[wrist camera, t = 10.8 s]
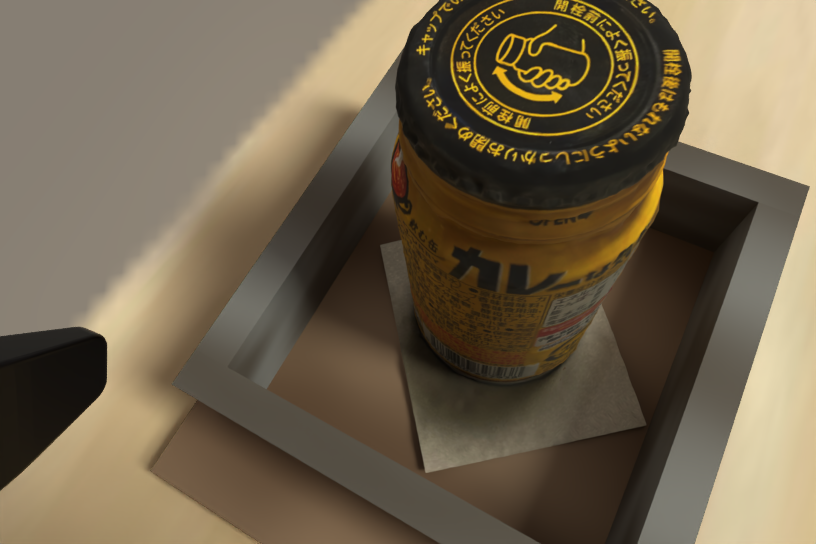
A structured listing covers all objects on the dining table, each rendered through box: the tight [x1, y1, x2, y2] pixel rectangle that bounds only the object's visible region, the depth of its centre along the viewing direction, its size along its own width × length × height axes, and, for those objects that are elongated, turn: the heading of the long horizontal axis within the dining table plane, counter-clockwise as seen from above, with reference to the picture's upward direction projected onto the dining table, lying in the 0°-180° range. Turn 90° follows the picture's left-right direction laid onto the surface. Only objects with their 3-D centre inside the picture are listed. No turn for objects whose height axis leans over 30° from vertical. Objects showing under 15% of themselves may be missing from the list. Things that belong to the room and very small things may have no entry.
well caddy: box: [151, 48, 810, 544], centre depth 19 cm, size 20×16×4 cm
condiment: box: [380, 0, 692, 473], centre depth 15 cm, size 7×8×12 cm
